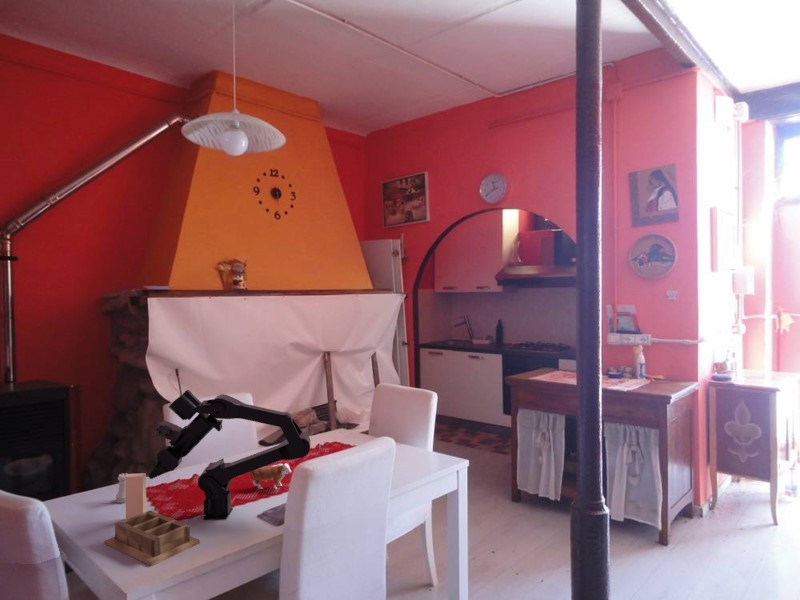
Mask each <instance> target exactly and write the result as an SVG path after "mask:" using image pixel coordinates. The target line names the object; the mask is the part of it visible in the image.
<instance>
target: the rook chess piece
mask: <svg viewBox="0 0 800 600" xmlns="http://www.w3.org/2000/svg"><path fill="white" fill-rule="evenodd" d="M128 474H129V473H127V472H126V473H119V474H118V477H117V480H118V490H117V491H118V492H117V494H116V496H115V502H116V503H118V504H126V483H125V477H126V476H127V475H128Z"/></svg>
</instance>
